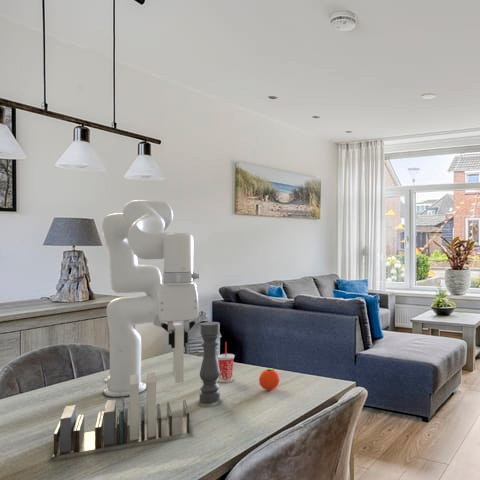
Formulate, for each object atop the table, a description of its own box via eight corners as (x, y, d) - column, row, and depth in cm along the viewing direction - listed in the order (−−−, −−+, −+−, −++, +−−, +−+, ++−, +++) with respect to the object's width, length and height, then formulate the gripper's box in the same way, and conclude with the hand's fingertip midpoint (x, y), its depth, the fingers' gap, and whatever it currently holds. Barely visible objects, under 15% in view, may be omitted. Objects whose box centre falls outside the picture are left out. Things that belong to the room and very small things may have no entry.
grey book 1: (59, 452, 106) (60, 418, 106) (65, 437, 114) (65, 406, 114) (70, 451, 107) (71, 417, 107) (75, 436, 115) (75, 404, 115)
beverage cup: (219, 384, 160) (219, 344, 160) (214, 379, 165) (215, 341, 165) (236, 381, 163) (236, 342, 163) (231, 376, 168) (231, 339, 168)
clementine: (264, 384, 159) (264, 364, 159) (283, 385, 158) (283, 365, 158) (255, 392, 152) (255, 371, 152) (275, 393, 150) (275, 372, 150)
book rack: (52, 461, 104) (52, 422, 104) (60, 440, 115) (60, 405, 115) (190, 436, 117) (190, 402, 117) (185, 419, 128) (185, 388, 128)
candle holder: (213, 407, 138) (214, 325, 138) (195, 405, 139) (195, 324, 139) (223, 400, 144) (224, 322, 144) (206, 398, 145) (206, 321, 145)
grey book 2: (103, 445, 110) (103, 412, 110) (106, 431, 118) (106, 400, 118) (114, 443, 111) (114, 411, 111) (115, 429, 119) (115, 399, 119)
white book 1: (129, 440, 112) (129, 384, 112) (130, 427, 120) (130, 375, 120) (138, 439, 113) (138, 383, 113) (138, 426, 121) (138, 374, 121)
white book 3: (175, 383, 117) (175, 329, 117) (173, 373, 125) (173, 323, 125) (183, 382, 118) (183, 328, 118) (180, 373, 126) (180, 323, 126)
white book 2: (147, 437, 114) (147, 382, 114) (146, 424, 122) (146, 373, 122) (155, 436, 115) (156, 381, 115) (154, 423, 123) (155, 372, 123)
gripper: (207, 276, 128) (207, 341, 128) (145, 278, 121) (145, 346, 121) (211, 278, 122) (210, 346, 122) (146, 280, 115) (145, 353, 115)
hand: (178, 346), depth 121 cm, fingers closed on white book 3, 2 cm apart
